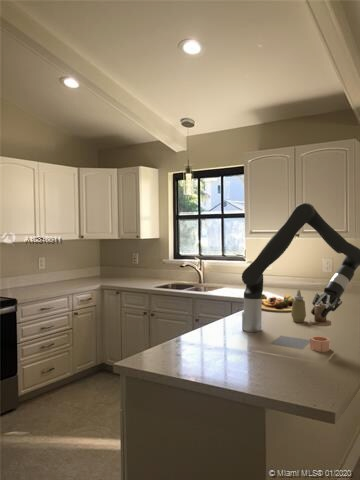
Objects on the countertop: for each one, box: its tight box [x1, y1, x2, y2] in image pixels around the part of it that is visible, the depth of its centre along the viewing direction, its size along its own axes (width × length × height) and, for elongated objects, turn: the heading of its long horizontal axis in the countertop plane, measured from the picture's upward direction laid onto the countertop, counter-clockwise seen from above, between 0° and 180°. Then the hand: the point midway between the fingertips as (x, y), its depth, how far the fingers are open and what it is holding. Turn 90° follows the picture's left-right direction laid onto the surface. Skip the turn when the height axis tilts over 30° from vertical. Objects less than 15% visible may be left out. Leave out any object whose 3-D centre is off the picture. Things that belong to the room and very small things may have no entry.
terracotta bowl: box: [309, 335, 331, 353], centre depth 179 cm, size 8×8×5 cm
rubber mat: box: [269, 335, 310, 350], centre depth 189 cm, size 15×16×1 cm
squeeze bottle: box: [290, 289, 307, 323], centre depth 230 cm, size 8×8×18 cm
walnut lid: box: [309, 304, 332, 327], centre depth 178 cm, size 9×9×8 cm
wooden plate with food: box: [262, 293, 295, 313], centre depth 269 cm, size 32×32×8 cm
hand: (317, 315), depth 177 cm, fingers closed on walnut lid, 5 cm apart
